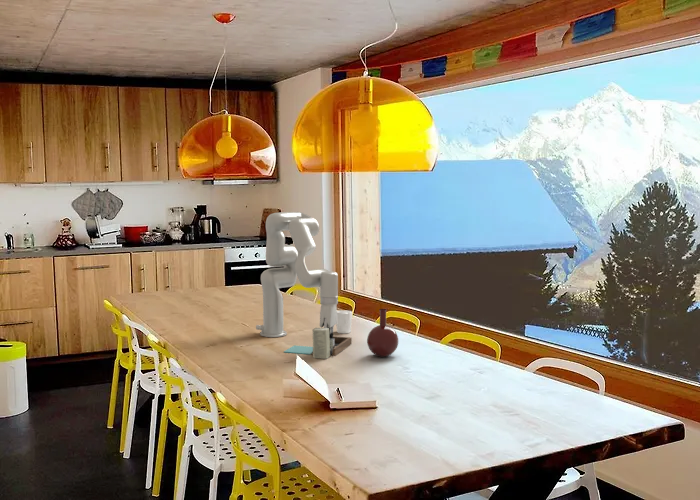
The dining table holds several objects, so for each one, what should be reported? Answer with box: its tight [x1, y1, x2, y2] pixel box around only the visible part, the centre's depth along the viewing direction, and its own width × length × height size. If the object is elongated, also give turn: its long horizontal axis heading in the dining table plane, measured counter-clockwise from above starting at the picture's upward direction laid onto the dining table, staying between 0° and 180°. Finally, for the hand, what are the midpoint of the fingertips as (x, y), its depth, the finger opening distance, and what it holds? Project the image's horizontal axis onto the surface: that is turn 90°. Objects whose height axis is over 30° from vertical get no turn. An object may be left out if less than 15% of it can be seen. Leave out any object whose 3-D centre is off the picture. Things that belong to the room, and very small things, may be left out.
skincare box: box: [312, 327, 331, 360], centre depth 313 cm, size 6×4×12 cm
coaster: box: [283, 345, 313, 355], centre depth 326 cm, size 12×12×1 cm
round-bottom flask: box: [366, 308, 399, 358], centre depth 315 cm, size 13×13×20 cm
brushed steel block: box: [330, 338, 336, 356], centre depth 319 cm, size 6×6×6 cm
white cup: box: [335, 309, 353, 335], centre depth 363 cm, size 8×8×10 cm
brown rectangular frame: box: [331, 335, 353, 357], centre depth 329 cm, size 10×23×3 cm, turn 163°
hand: (329, 342), depth 323 cm, fingers closed
